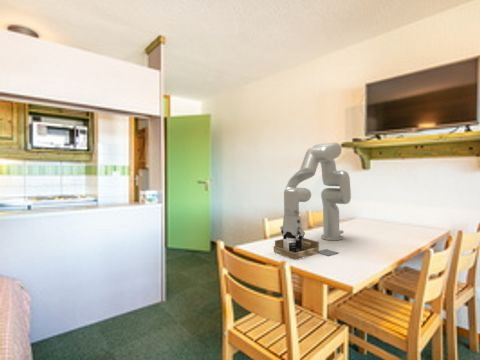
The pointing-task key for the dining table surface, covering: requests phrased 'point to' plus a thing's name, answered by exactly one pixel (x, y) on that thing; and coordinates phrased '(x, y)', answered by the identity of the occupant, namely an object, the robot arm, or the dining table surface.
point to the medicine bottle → (290, 243)
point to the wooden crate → (315, 250)
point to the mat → (327, 252)
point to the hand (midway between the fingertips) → (292, 245)
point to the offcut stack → (305, 245)
